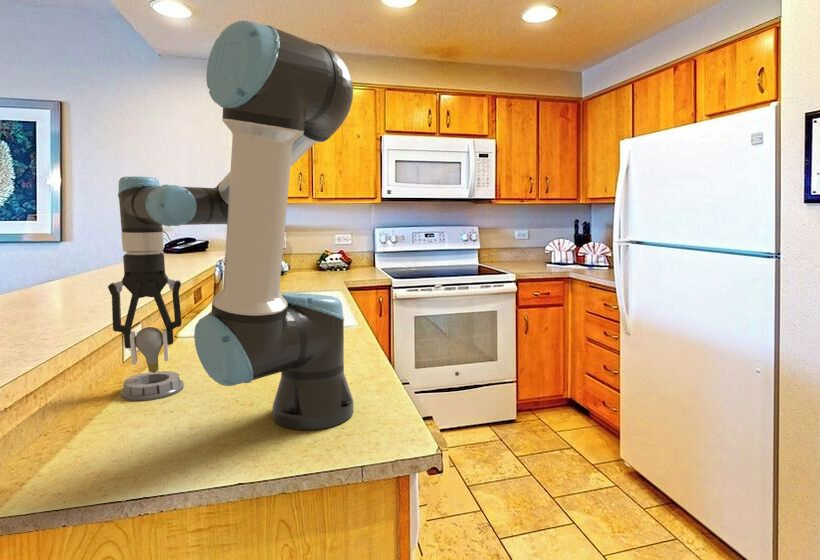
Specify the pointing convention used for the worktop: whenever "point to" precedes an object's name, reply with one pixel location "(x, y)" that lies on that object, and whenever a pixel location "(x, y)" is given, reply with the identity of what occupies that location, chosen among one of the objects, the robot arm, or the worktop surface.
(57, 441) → the worktop surface
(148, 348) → the light bulb
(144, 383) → the socket
